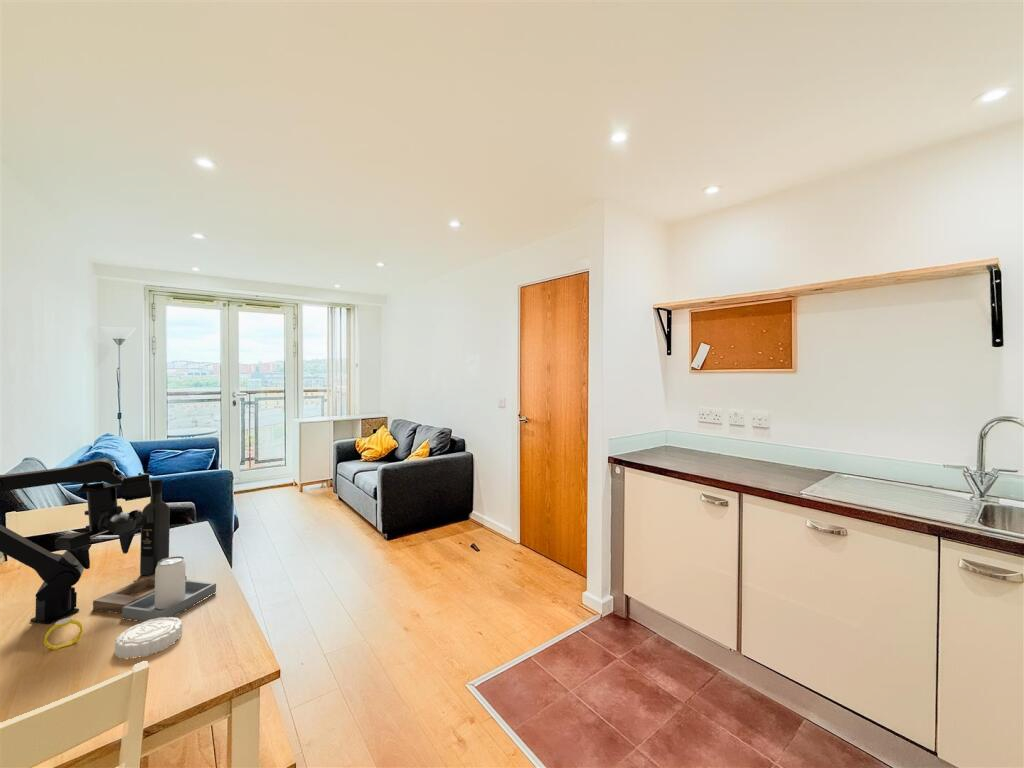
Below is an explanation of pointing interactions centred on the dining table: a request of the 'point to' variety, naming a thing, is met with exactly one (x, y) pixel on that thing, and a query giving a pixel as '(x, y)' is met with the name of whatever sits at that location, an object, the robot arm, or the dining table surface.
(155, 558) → the wine bottle
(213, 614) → the dining table surface
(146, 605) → the tray
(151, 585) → the holder
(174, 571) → the can
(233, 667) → the dining table surface
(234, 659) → the dining table surface
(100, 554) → the dining table surface
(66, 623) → the watch
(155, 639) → the mooncake
